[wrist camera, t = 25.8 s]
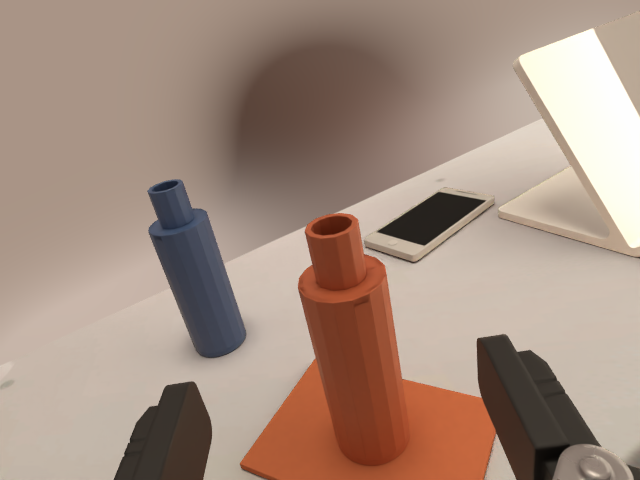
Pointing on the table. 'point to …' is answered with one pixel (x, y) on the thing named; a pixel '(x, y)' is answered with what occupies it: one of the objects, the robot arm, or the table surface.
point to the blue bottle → (195, 271)
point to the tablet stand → (588, 136)
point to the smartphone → (428, 223)
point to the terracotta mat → (395, 476)
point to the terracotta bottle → (354, 341)
